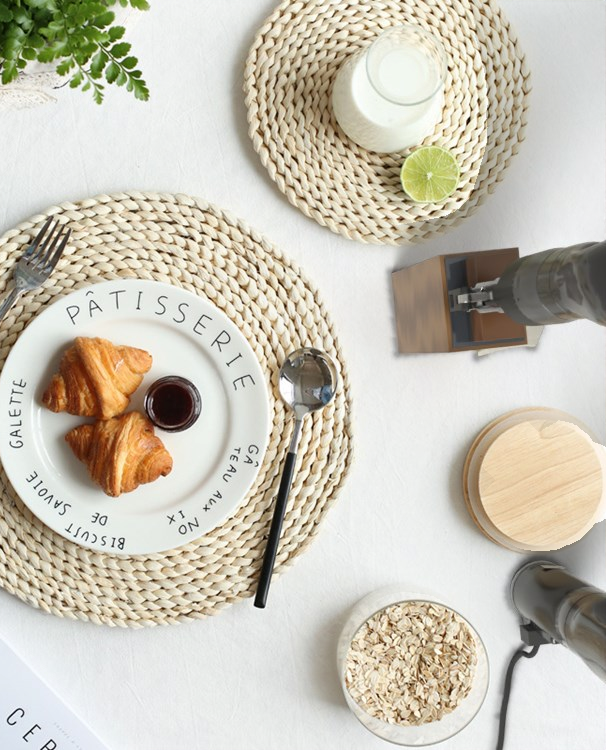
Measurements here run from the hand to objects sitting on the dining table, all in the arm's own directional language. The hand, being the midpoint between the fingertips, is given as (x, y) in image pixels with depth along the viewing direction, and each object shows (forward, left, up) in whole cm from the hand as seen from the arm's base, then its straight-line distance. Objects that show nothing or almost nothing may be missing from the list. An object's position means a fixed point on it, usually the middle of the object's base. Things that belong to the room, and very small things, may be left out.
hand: (487, 299), depth 100 cm
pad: (0, 0, -1) cm, 1 cm away
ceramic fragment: (-4, -13, -23) cm, 27 cm away
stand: (0, 0, -23) cm, 23 cm away
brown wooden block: (0, 0, -1) cm, 1 cm away
